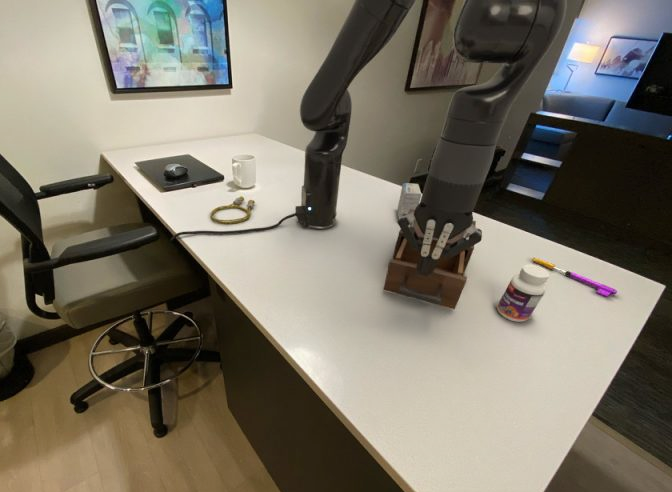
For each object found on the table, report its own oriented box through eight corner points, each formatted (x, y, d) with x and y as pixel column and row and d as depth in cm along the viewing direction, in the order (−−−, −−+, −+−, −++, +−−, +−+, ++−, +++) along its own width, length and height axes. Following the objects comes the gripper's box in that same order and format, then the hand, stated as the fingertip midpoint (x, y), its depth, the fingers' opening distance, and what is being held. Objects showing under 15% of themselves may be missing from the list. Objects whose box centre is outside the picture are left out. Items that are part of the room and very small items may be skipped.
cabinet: (459, 283, 69) (474, 248, 64) (390, 266, 75) (398, 232, 69) (463, 253, 79) (475, 221, 74) (401, 240, 84) (409, 209, 79)
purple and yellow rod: (616, 293, 67) (533, 259, 77) (619, 289, 66) (534, 255, 77) (609, 300, 66) (526, 264, 77) (612, 296, 65) (528, 261, 76)
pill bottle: (489, 306, 63) (510, 264, 58) (511, 301, 65) (534, 260, 59) (512, 325, 59) (537, 282, 53) (535, 319, 61) (562, 276, 55)
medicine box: (414, 223, 92) (422, 193, 87) (398, 222, 93) (405, 192, 88) (411, 212, 98) (419, 183, 93) (396, 210, 99) (402, 182, 94)
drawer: (452, 327, 57) (465, 297, 53) (376, 305, 62) (383, 275, 58) (458, 275, 70) (469, 248, 66) (395, 260, 75) (402, 233, 71)
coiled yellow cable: (269, 212, 97) (268, 206, 96) (224, 228, 88) (223, 221, 87) (244, 200, 104) (243, 194, 103) (200, 214, 95) (199, 207, 94)
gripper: (404, 173, 46) (380, 273, 57) (510, 190, 42) (463, 296, 52) (413, 159, 52) (390, 253, 62) (508, 173, 47) (466, 272, 58)
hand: (423, 273), depth 57 cm, fingers closed
